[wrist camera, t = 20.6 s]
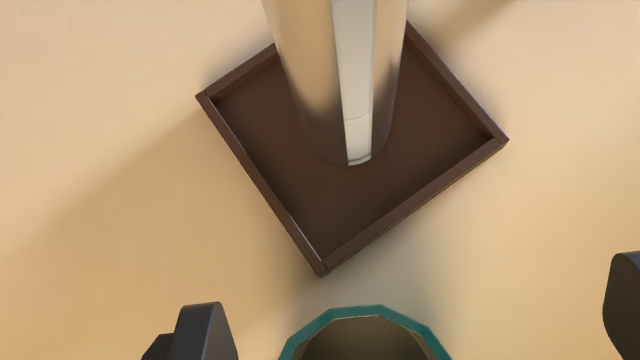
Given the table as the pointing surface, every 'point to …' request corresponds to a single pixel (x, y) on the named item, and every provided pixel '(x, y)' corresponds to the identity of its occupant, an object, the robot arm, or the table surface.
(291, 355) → the cup
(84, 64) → the table surface
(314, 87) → the silver metal cylinder
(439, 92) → the tray
